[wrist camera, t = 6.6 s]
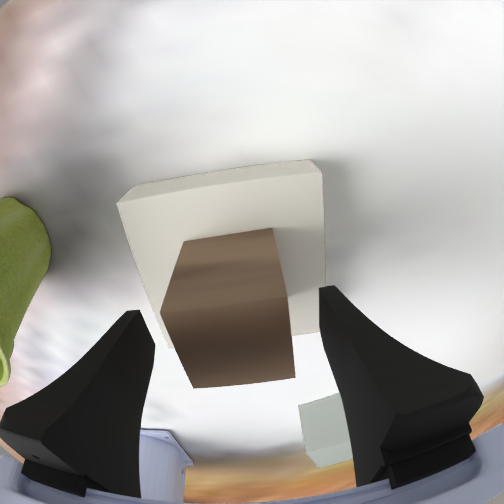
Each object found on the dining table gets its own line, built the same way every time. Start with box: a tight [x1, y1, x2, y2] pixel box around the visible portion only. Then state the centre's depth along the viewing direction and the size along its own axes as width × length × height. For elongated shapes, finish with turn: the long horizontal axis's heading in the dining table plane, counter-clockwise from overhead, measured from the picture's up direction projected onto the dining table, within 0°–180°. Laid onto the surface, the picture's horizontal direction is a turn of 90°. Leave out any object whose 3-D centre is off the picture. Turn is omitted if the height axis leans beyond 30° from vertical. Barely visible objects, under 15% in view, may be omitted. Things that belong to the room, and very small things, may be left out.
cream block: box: [116, 159, 325, 348], centre depth 16 cm, size 9×9×3 cm
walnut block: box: [160, 228, 295, 388], centre depth 12 cm, size 4×4×5 cm
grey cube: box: [298, 393, 353, 468], centre depth 23 cm, size 5×5×5 cm
